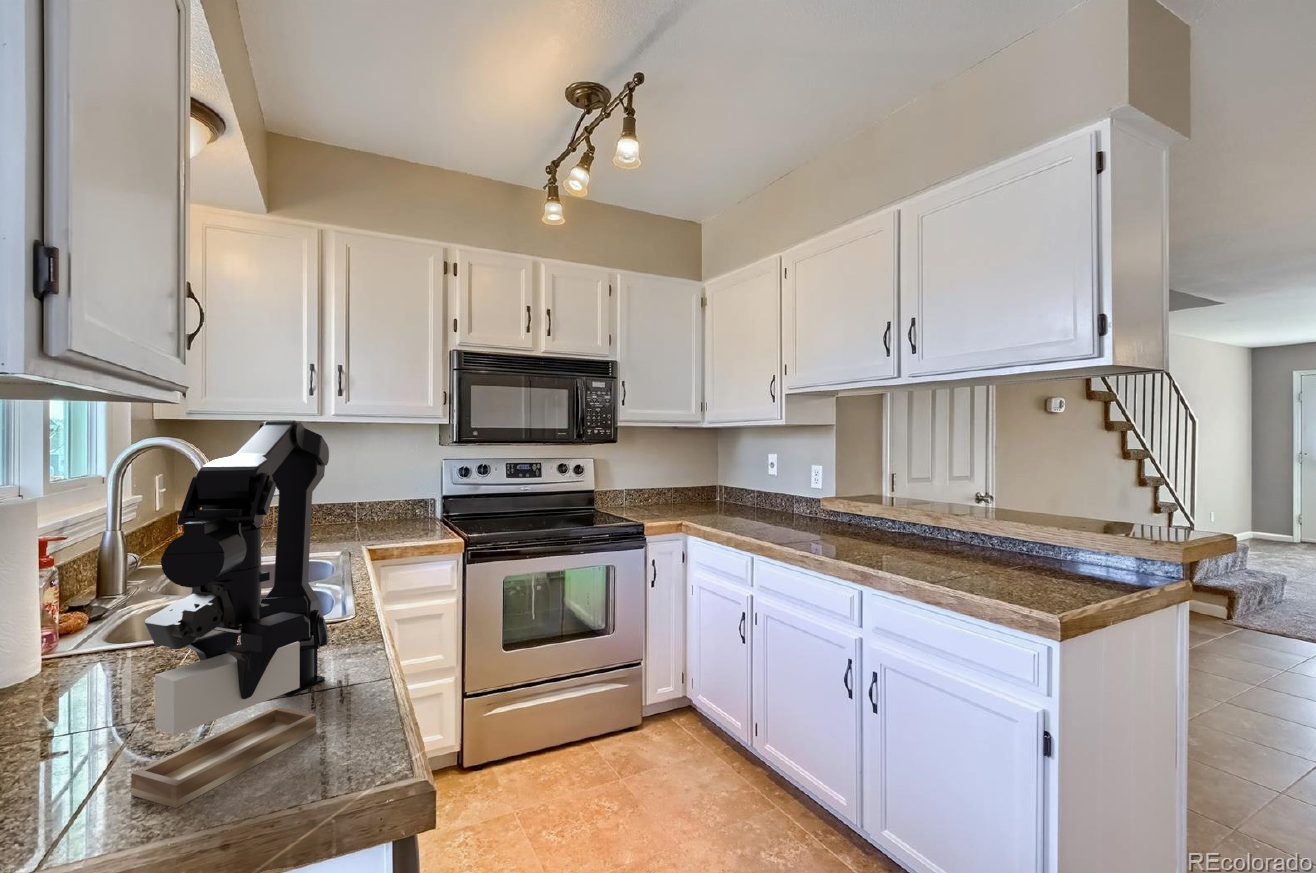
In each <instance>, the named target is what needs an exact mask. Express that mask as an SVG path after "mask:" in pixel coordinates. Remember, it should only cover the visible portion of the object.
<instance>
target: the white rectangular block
mask: <svg viewBox="0 0 1316 873" xmlns="http://www.w3.org/2000/svg"><path fill="white" fill-rule="evenodd" d="M298 688H300V642H298V641H297V642H294V643H292V644H289V645H286V646H283V647H281V648H278V649H277V651H276V652H275V654H274V656H273V657H272V659H271V660H270V662H269V664H268V666H267V668H266V670H265V672H264V674H263V676H262V678H261V679H260V681H259V683H258V685H257V687H256V689H255V691H254V693H253V695H252V696H251V697H249V698H247V699H241V694H240V689H239V679H238V668H237V659H236V658H235V657H233V656H232V655H231V654H229V653H226V654H223V655H219V656H216V657H213V658H209V659H206V660H202V661H200V660H199V661H196V662H193V663H190V664H186V665H183V666H179V667H177V668H173V669H169V670H166V671H163V672H160V673H155V674H154V704H155V706H154V728H155V729H157V730H160V731H162V732H164V733H165V734H166V733H167V734H169V735H172V736H173V737H175V736H178V735H179V734H180V735H181V734H182V733H185V732H188V731H190V730H193V729H195V728H198V727H200V726H203V725H206V724H209V723H211V722H214V721H216V720H218V719H222V718H223V717H226V716H230V715H232V714H235V713H237V712H240V711H243V710H245V709H248V708H250V707H253V706H255V705H259V704H261V703H264V702H266V701H269V700H271V699H275V698H277V697H279V696H283V695H282V694H285V693H287V692H290V691H293V690H295V689H298Z"/></svg>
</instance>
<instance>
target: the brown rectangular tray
mask: <svg viewBox="0 0 1316 873" xmlns="http://www.w3.org/2000/svg"><path fill="white" fill-rule="evenodd" d="M316 733H317V714H315V713H310V712H306V711H300V710H294V709H291V708H285V707H280V706H274V707H273V708H270V709H268V710H266V711H263V712H262V713H261V712H260V713H259V714H257V715H254V716H252V717H250V718H249V719H246V720H244V721H241V722H240V723H237V724H235V725H233V726H231V727H229V728H226V729H225V730H222V731H220V732H218V733H216V734H214V735H211V736H209V737H207V738H205V739H202V740H201V741H198V742H195V743H194V744H192V745H190V746H187V747H185V748H184V749H180V750H179V751H176V752H175V753H172V754H170V755H169V756H165V757H164V758H162V759H159V760H157V761H155V762H153V763H150V764H148V765H146V766H144V767H142V768H139V769H138V770H135V771H133V772H131V774H130V775H131V778H130V781H131V782H130V783H131V784H130V786H131V788H130V789H131V791H130V793H131V794H130V796H134V797H137V798H140V799H144V800H146V801H150V802H152V803H153V802H154V803H157V804H160V805H164V806H167V807H171V808H174V809H177V808H179V807H182V806H183V805H185V804H186V803H187V804H188V803H190V801H192V800H195V799H196V798H198V797H200V796H202V795H203V794H205V793H207V792H210V791H211V790H213V789H215V788H216V787H218V786H220V785H222V784H224V783H226V782H227V781H230V780H231V779H233V778H235V777H237V776H238V775H240V774H242V773H245V772H246V771H248V770H249V769H251V768H253V767H255V766H257V765H259V764H261V763H263V762H264V761H266V760H268V759H271V758H272V757H274V756H276V755H278V754H279V753H281V752H283V751H285V750H288V748H291V747H292V746H294V745H296V744H298V743H300V742H301V741H303V740H305V739H307V738H309V737H311V736H313V735H315V734H316Z"/></svg>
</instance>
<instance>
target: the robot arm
mask: <svg viewBox="0 0 1316 873" xmlns="http://www.w3.org/2000/svg"><path fill="white" fill-rule="evenodd" d="M329 459H330V449H329V446H328V443H327V442H326V440H325V438H324V437H323V436H322V435H321V434H320V433H317V432H314V431H312V430H311V429H308V428H306V427H305V426H304V424H303V423H302V422H301V421H297V420H296V419H295V420H294V419H291V420H290V419H285V420H284V419H267V420H266V421H262V422H261V423H260V424H259V427H258V431H256V433H255V434H253V435H252V437H250V439H249V440H247V442H246V443H244V445H242V446H241V448H239V449H238V451H237V452H236V453H234V454H233V455H231V456H226V457H221V458H217V459H213V460H211V461H209V462H207V463H205V464H204V465H202V466H200V468H199V469H198V471H197V472H196V474H194V475H193V477H192V479H191V481H190V484H189V486H188V490H187V493H186V495H185V497H184V501H183V504H182V507H181V509H180V512H179V516H178V518H177V525H178V526H183V534H182V535H181V536H180V535H179V536H178V537H176V538H175V539H173V540H172V541H171V542H170V543H169V544H168V545H167V546H166V548H165V549H164V551H163V555H161V558H160V565H161V570H162V573H163V574H164V575H165V577H166V578H167V579H168V580H169V582H172V583H173V584H174V585H177V586H180V587H183V588H191V594H190V595H188V596H186V597H184V598H180V599H179V600H177V601H174V602H173V603H171V604H169V605H167V606H166V607H164V608H162V609H160V610H158V611H157V612H155V613H153V614H152V615H150V616H148V617H147V618H146V619H145V620H144V625H145V627H146V629H147V630H148V633H149V635H150V637H151V638H150V639H151V641H152V642H153V644H154V646H155V647H158V648H159V647H161V646H162V647H166V648H170V649H171V650H181V649H184V648H188V649H190V650H192V651H193V652H195V653H196V655H197V657H198V659H199V661H202V660H206V659H209V658H213V657H216V656H219V655H223V654H226V653H229V654H231V655H232V656H233V657H235V658H236V659H237V668H238V679H239V689H240V694H241V699H247V698H249V697H251V696H252V695H253V693H254V691H255V689H256V687H257V685H258V683H259V681H260V679H261V678H262V676H263V674H264V672H265V670H266V668H267V666H268V664H269V662H270V660H271V659H272V657H273V656H274V654H275V652H276V651H277V649H278V648H281V647H283V646H286V645H289V644H292V643H294V642H297V641H298V642H300V688H298V689H295V690H293V691H290V692H287V693H285V694H282V695H281V696H286V697H290V696H294V695H296V694H299V693H300V692H302V691H304V690H308V689H309V688H312V687H313V686H316V685H318V684H320V683H322V682H323V683H324V681H325V680H326V677H325V676H320V675H318V674H319V673H318V672H319V670H318V669H319V668H318V661H319V660H318V658H319V657H318V656H319V655H318V654H319V653H318V651H319V649H320V648H321V647H324V646H325V647H326V646H328V644H329V643H328V642H329V637H328V636H329V635H328V626H327V623H326V620H325V618H324V615H323V612H322V610H321V609H320V607H319V606H320V601H319V600H320V599H319V597H318V595H317V594H316V592H315V590H314V589H313V588H312V586H311V585H310V584H309V572H310V570H309V569H310V568H309V567H310V548H311V528H312V525H311V524H312V510H313V509H312V508H313V506H312V504H313V492H314V490H316V488H317V487H318V485H319V484H320V483H321V482H322V480H323V479H324V477H325V470H326V466H328V463H329ZM276 489H277V491H278V503H277V504H278V505H277V524H276V526H277V527H276V539H275V540H276V541H275V542H276V543H275V559H274V560H275V561H274V562H275V563H274V578H273V587H272V588H271V589H270V591H269V592H268V593H267V595H266V596H265V597H264V598H262V583H263V582H268V581H270V578H271V577H270V575H271V573H270V571H263V570H262V524H263V523H264V519H263V517H264V516H267V515H268V512H269V509H270V506H271V504H272V500H273V498H274V495H275V493H276ZM239 638H240V644H238V640H239Z"/></svg>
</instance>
